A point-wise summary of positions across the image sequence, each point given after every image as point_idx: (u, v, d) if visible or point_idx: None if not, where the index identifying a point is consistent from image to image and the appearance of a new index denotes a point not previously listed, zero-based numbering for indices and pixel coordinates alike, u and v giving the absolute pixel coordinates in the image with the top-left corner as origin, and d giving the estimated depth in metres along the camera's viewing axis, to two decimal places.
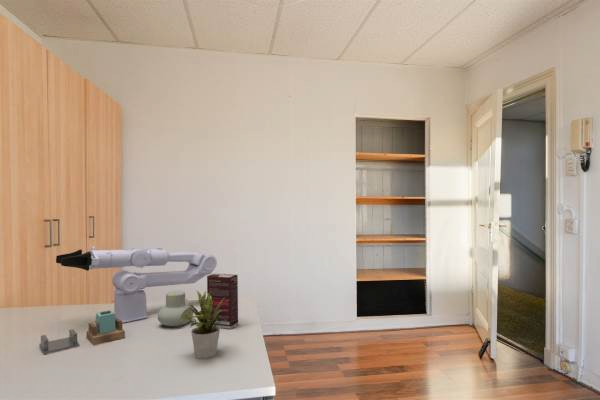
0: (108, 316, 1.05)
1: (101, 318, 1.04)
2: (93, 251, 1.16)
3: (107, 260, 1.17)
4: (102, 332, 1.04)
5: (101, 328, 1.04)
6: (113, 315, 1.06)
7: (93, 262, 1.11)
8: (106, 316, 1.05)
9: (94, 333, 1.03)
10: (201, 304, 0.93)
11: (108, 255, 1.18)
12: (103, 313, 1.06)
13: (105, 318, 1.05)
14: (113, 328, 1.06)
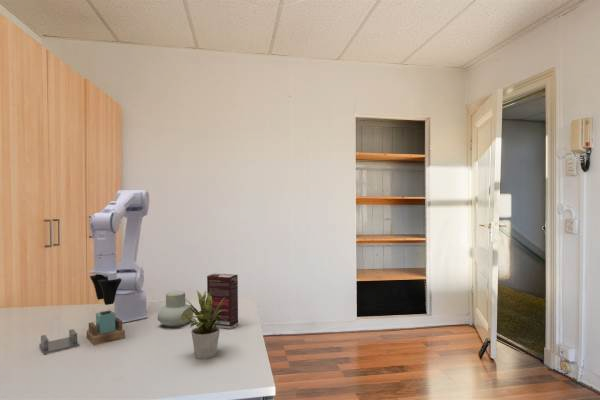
0: (108, 316, 1.05)
1: (101, 318, 1.04)
2: (96, 273, 1.04)
3: (108, 258, 1.05)
4: (102, 332, 1.04)
5: (101, 328, 1.04)
6: (113, 315, 1.06)
7: (113, 278, 1.01)
8: (106, 316, 1.05)
9: (94, 333, 1.03)
10: (201, 304, 0.93)
11: (102, 257, 1.04)
12: (103, 313, 1.06)
13: (105, 318, 1.05)
14: (113, 328, 1.06)
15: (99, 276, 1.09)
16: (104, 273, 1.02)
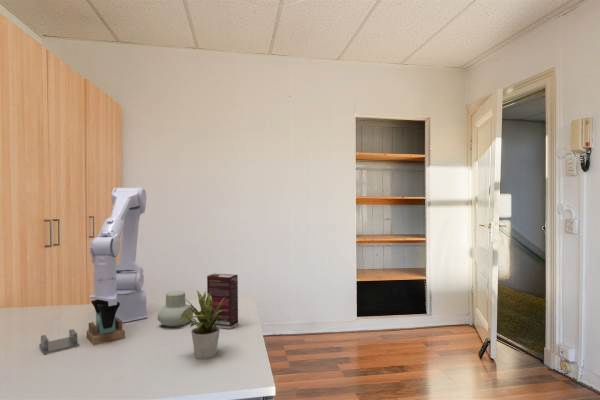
0: None
1: (101, 318, 1.04)
2: (96, 298, 1.04)
3: (108, 283, 1.05)
4: (102, 332, 1.04)
5: (101, 328, 1.04)
6: None
7: (113, 304, 1.01)
8: None
9: (94, 333, 1.03)
10: (201, 304, 0.93)
11: (102, 282, 1.04)
12: None
13: None
14: (113, 328, 1.06)
15: (101, 301, 1.08)
16: (104, 299, 1.02)
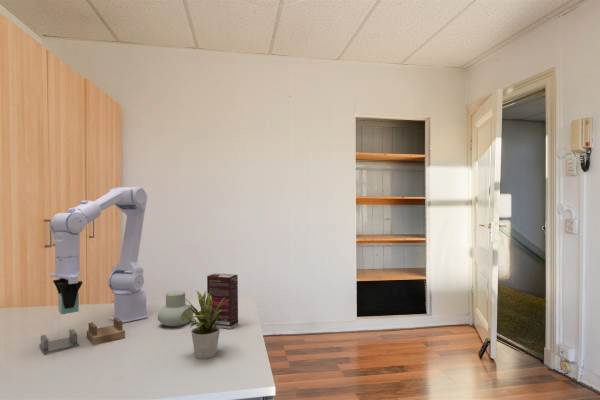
0: None
1: None
2: (57, 276, 0.99)
3: (70, 261, 1.00)
4: (64, 312, 1.00)
5: (63, 308, 0.99)
6: None
7: (74, 282, 0.97)
8: None
9: (94, 333, 1.03)
10: (201, 304, 0.93)
11: (63, 260, 0.99)
12: None
13: None
14: (76, 308, 1.02)
15: (63, 280, 1.03)
16: (65, 276, 0.97)
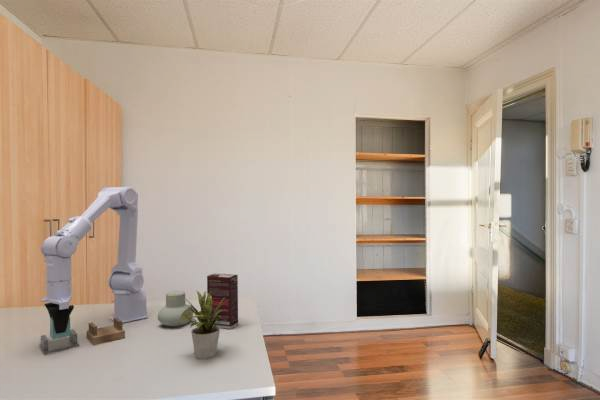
0: None
1: None
2: (48, 301, 0.98)
3: (61, 285, 0.99)
4: (55, 337, 0.99)
5: (54, 333, 0.98)
6: None
7: (64, 307, 0.96)
8: None
9: (94, 333, 1.03)
10: (201, 304, 0.93)
11: (54, 284, 0.98)
12: None
13: None
14: (68, 333, 1.01)
15: (54, 304, 1.02)
16: (56, 302, 0.96)
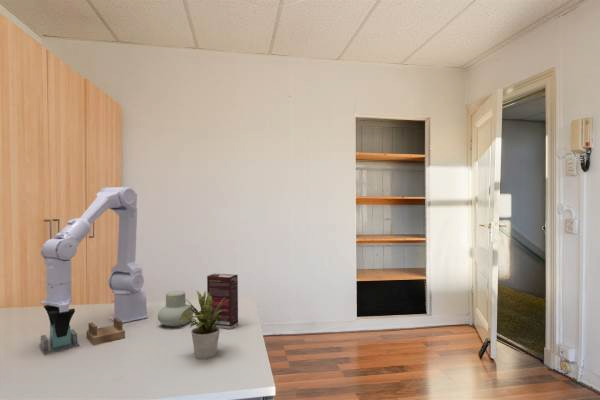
0: None
1: (54, 330, 0.99)
2: (48, 303, 0.98)
3: (61, 288, 0.99)
4: (56, 345, 0.99)
5: (54, 341, 0.98)
6: None
7: (65, 310, 0.96)
8: None
9: (94, 333, 1.03)
10: (201, 304, 0.93)
11: (54, 287, 0.98)
12: None
13: None
14: (68, 341, 1.01)
15: (54, 306, 1.03)
16: (56, 304, 0.96)
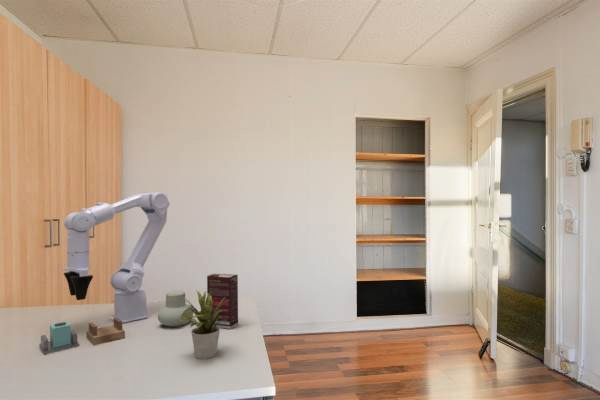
0: (62, 328, 1.00)
1: (54, 330, 0.99)
2: (69, 269, 1.09)
3: (81, 256, 1.10)
4: (56, 345, 0.99)
5: (54, 341, 0.98)
6: (68, 327, 1.01)
7: (84, 275, 1.07)
8: (60, 328, 0.99)
9: (94, 333, 1.03)
10: (201, 304, 0.93)
11: (75, 255, 1.10)
12: (57, 325, 1.00)
13: (59, 330, 0.99)
14: (68, 341, 1.01)
15: (72, 273, 1.15)
16: (76, 270, 1.08)
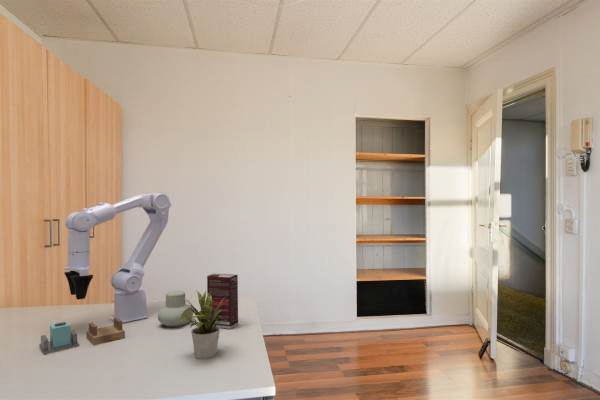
0: (62, 328, 1.00)
1: (54, 330, 0.99)
2: (69, 269, 1.10)
3: (81, 255, 1.11)
4: (56, 345, 0.99)
5: (54, 341, 0.98)
6: (68, 327, 1.01)
7: (84, 274, 1.07)
8: (60, 328, 0.99)
9: (94, 333, 1.03)
10: (201, 304, 0.93)
11: (75, 254, 1.10)
12: (57, 325, 1.00)
13: (59, 330, 0.99)
14: (68, 341, 1.01)
15: (73, 272, 1.15)
16: (76, 269, 1.08)
